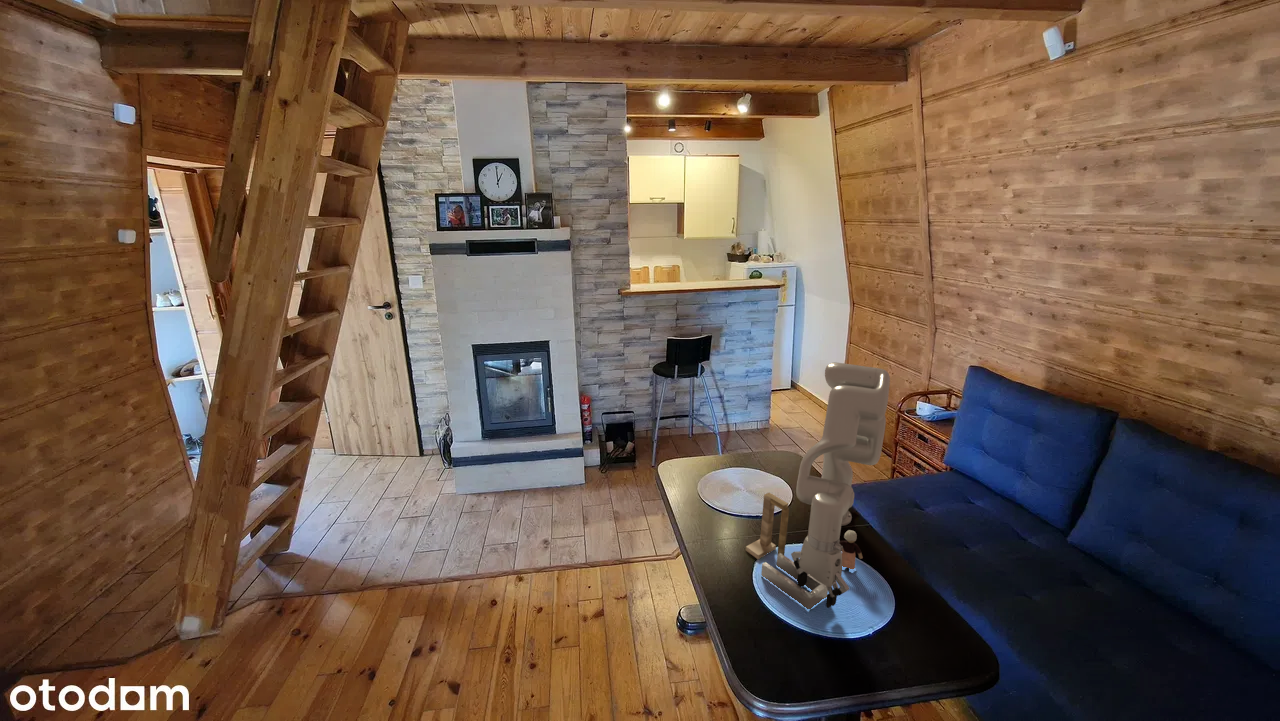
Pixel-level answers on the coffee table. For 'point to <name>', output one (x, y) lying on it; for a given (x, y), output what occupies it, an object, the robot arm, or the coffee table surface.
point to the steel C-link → (791, 587)
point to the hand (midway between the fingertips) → (815, 594)
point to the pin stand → (770, 528)
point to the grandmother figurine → (850, 549)
